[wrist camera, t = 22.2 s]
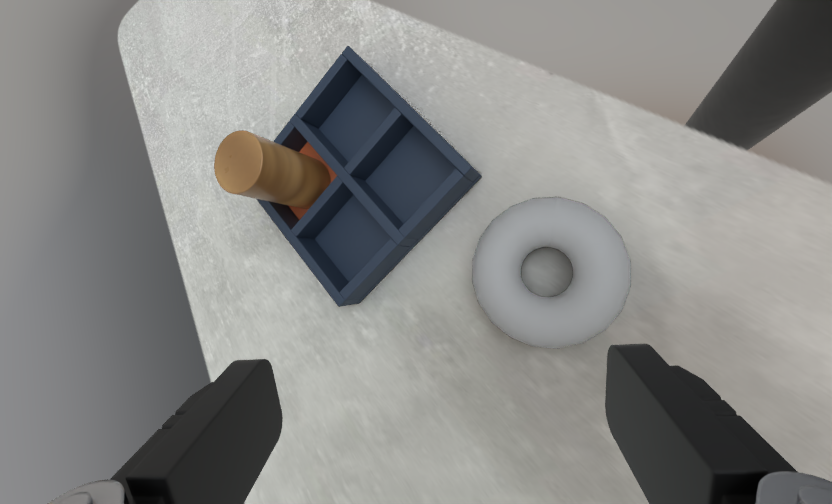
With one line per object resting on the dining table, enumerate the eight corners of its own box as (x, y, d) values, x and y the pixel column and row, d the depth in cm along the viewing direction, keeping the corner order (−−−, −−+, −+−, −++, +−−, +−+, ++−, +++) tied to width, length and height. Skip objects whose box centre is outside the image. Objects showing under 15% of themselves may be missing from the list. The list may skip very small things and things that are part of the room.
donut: (489, 348, 30) (642, 338, 26) (477, 358, 27) (649, 348, 23) (470, 215, 31) (615, 186, 27) (456, 209, 28) (618, 176, 24)
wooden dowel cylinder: (310, 148, 35) (239, 117, 28) (340, 182, 34) (273, 159, 27) (281, 185, 36) (204, 164, 29) (308, 219, 35) (235, 207, 28)
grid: (367, 63, 34) (347, 44, 31) (482, 176, 30) (471, 167, 27) (267, 187, 38) (242, 181, 35) (359, 303, 34) (338, 307, 31)
